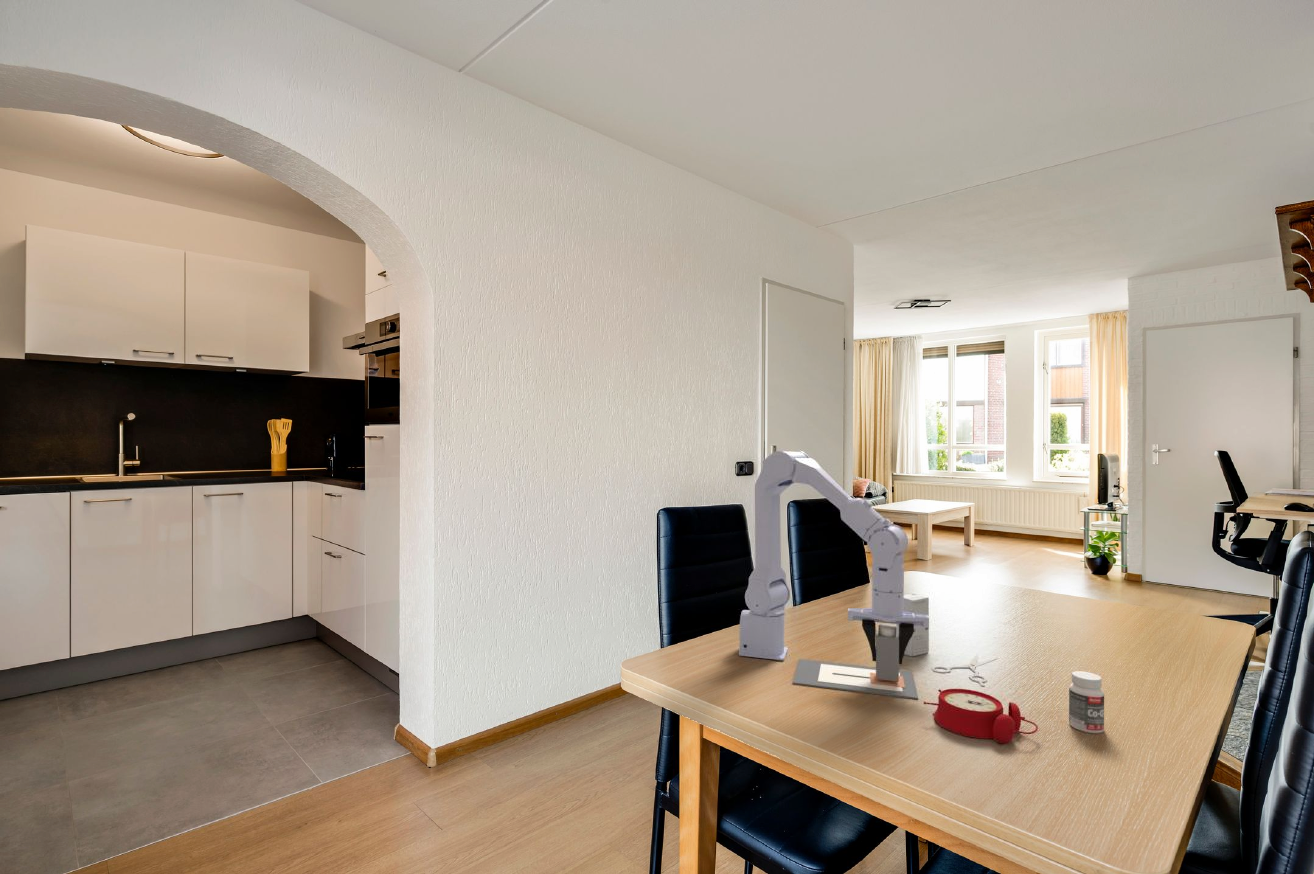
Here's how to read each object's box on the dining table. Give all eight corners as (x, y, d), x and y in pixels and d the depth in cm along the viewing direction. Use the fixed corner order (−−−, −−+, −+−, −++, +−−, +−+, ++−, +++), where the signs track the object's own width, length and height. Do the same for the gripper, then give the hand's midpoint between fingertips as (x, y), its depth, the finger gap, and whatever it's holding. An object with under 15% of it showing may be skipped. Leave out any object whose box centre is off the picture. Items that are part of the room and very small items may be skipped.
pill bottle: (1091, 736, 100) (1092, 682, 100) (1062, 723, 105) (1062, 672, 105) (1110, 730, 102) (1111, 678, 102) (1081, 719, 107) (1081, 668, 107)
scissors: (926, 671, 128) (962, 647, 142) (926, 674, 128) (962, 651, 142) (984, 685, 120) (1015, 659, 135) (984, 689, 120) (1015, 663, 135)
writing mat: (792, 683, 121) (792, 681, 121) (799, 660, 134) (799, 657, 134) (918, 699, 114) (918, 696, 114) (912, 672, 127) (912, 670, 127)
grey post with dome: (876, 678, 121) (876, 628, 121) (875, 671, 125) (876, 622, 125) (898, 681, 120) (899, 630, 120) (897, 674, 123) (898, 624, 124)
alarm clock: (939, 682, 112) (1036, 685, 103) (947, 720, 111) (1046, 727, 102) (917, 700, 104) (1021, 705, 95) (926, 742, 103) (1031, 751, 94)
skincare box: (912, 657, 137) (913, 600, 137) (894, 651, 140) (895, 596, 141) (930, 652, 140) (930, 597, 140) (912, 646, 144) (912, 592, 144)
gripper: (847, 591, 121) (846, 663, 121) (930, 597, 116) (930, 672, 116) (848, 583, 127) (847, 651, 127) (927, 589, 123) (926, 660, 123)
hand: (887, 661), depth 122 cm, fingers closed on grey post with dome, 4 cm apart
